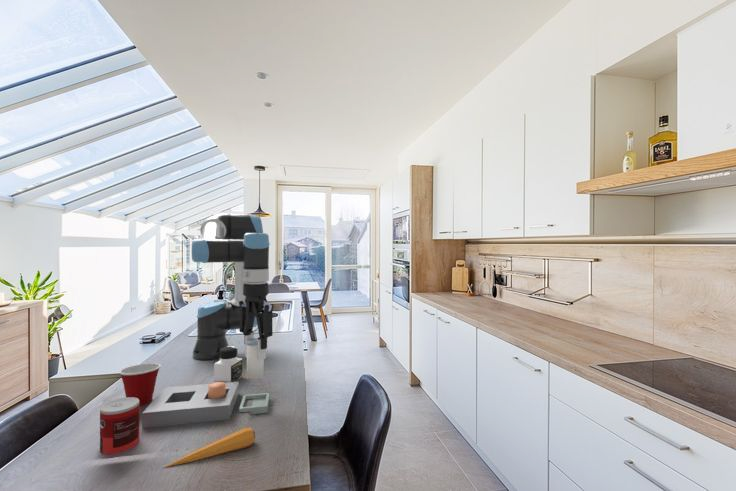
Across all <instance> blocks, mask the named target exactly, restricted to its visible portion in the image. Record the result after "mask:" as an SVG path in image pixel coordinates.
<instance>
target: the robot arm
mask: <svg viewBox="0 0 736 491" xmlns="http://www.w3.org/2000/svg"><path fill="white" fill-rule="evenodd" d="M262 222H263V221H262V218H261V216H259V215H257V214H249V213H248V214H247V213H246V214H245V213H244V214H243V213H218V214H214V215H211V216H210V217H207V218H206V219H205V220H204V221H203V222H202V223H201V225H200V230H199V232H200V235H201V237H200V238H197V239H196V238H195V239H193V240H192V241H191V260H192V261H193V262H194V263H203V264H206V263H234V265H235V266H234V267H235V268H234V297H233V298H231V301H230V303H229V304H227V302H226V301H225V300H224V301H223V300H222V301H220V300H219V301H212V302H209V303H204V304H202V305H200V306H199V307H198V308H197V316H196V318H197V325H196V326H197V328H196V329H197V330H196V331H197V333H196V334H197V335H196V337H197V338H196V342H195V344H194V347H193V350H192V358H193V359H195V360H200V361H208V360H215V359H220V350H221V349H222V348H224V347H227V346H230V344H229V343H228V339H227V337H226V333H227V331H228V330H229V331H230V330H231V331H232V330H239V332H240V333H242V334H243V335H244V336H243V337H244V339H243V340H244V341H243V342H244V357H246V358H247V344H246V342H247V340H249V339H252V338H255V335H254V331H253V329H254V328H256V327H257V329H258V330H257V331H258V336H259V337H257V338H258V339H257V360H258V361H260V360H262V359H264V360H265V359H267V348H268V338H270V337H273V330H274V329H273V311H274V304H273V303H268V300H267V296H268V295H269V293H270V292H269V290H270V289H269V288H270V286H269V283H268V282H269V281H270V270H269V269H270V268H269V267H270V266H269V264H270V263H269V262H270V259H269V258H270V257H269V255H270V254H269V253H270V244H271V243H270V239H269V238H270V237H269V234H267V233H265V232H264V230H263V229H264V228H263V223H262Z"/></svg>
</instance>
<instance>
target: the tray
mask: <svg viewBox="0 0 736 491" xmlns="http://www.w3.org/2000/svg"><path fill="white" fill-rule="evenodd" d="M251 399H252V401H251V405H250V406H245V403H246V400H251ZM269 404H270V392H263V393H252V394H243V396H242V399H241V402H240V404H239V408H238V413H246V412H248V415H257V414H258V415H259V414H267V413H268V409H269Z"/></svg>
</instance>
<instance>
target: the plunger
mask: <svg viewBox="0 0 736 491" xmlns="http://www.w3.org/2000/svg"><path fill="white" fill-rule="evenodd" d="M226 383H227V382H226V381H214V382H213V383H209V384H210V385H209V386H208V399H215V398H226Z"/></svg>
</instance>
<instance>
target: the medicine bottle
mask: <svg viewBox="0 0 736 491" xmlns="http://www.w3.org/2000/svg"><path fill="white" fill-rule="evenodd" d="M242 377H243V358H239V357H238V348H237V346H232V345H231V346H230V345H229V346H227V347H224V348H222V349H221V350H220V358H219V360H218V361H216V362H215V363H214V364H213V382H225V383H229V382H235V381H237V380H239V379H241V378H242Z"/></svg>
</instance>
